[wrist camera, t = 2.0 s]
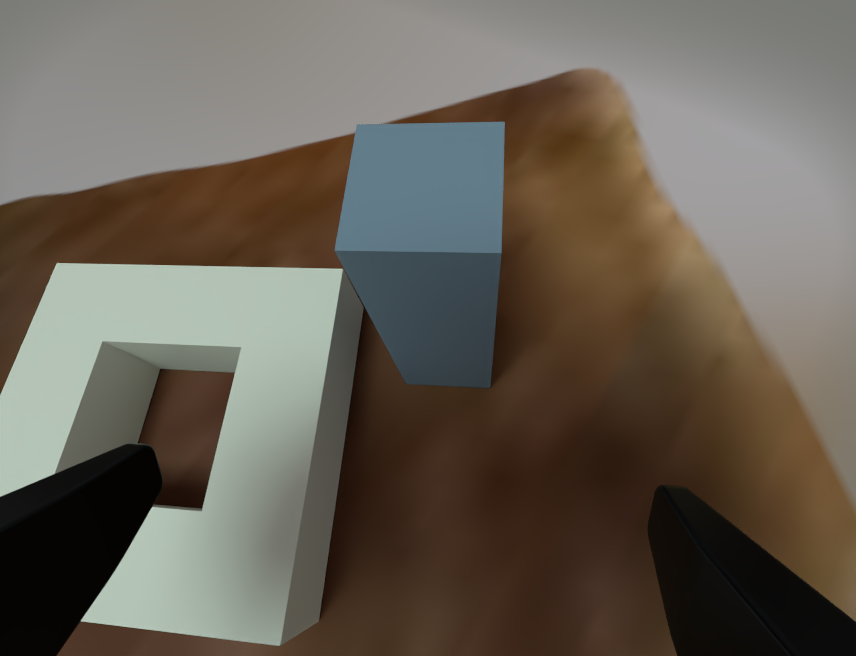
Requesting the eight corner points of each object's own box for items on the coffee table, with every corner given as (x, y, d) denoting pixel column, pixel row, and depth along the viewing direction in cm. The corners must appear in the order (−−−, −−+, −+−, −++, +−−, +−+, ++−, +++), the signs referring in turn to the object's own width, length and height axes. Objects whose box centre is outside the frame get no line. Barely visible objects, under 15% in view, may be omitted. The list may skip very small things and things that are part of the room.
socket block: (363, 307, 24) (342, 269, 20) (318, 621, 19) (280, 646, 15) (117, 299, 26) (57, 263, 22) (13, 585, 21) (-88, 599, 17)
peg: (492, 310, 23) (504, 121, 12) (490, 388, 22) (501, 253, 11) (413, 308, 24) (356, 124, 13) (406, 384, 22) (334, 250, 11)
